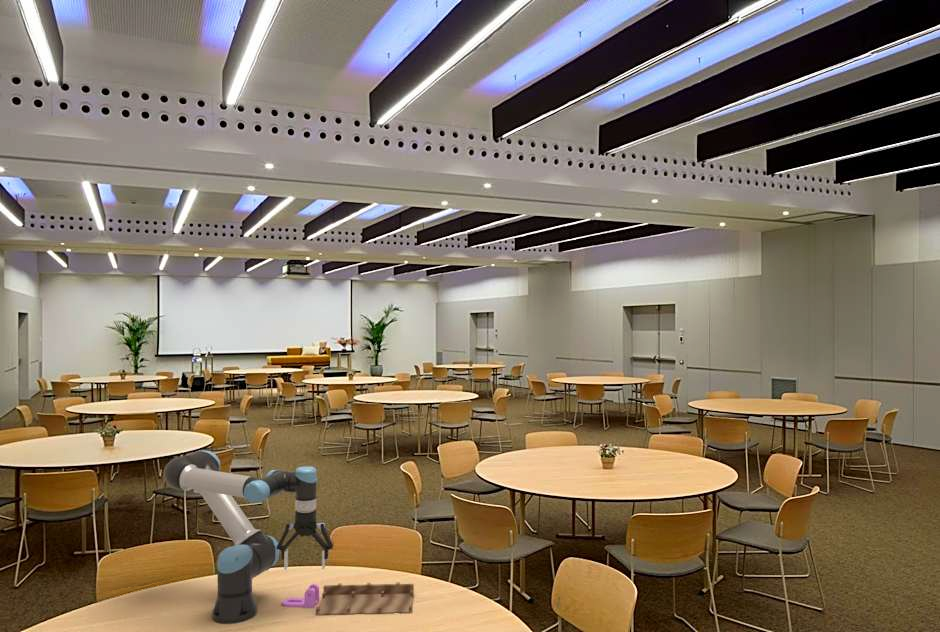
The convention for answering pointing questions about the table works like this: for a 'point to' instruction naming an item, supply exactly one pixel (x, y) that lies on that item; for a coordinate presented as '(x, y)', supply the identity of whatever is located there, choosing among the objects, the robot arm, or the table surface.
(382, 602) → the ledge
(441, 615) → the table surface
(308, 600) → the bracket
